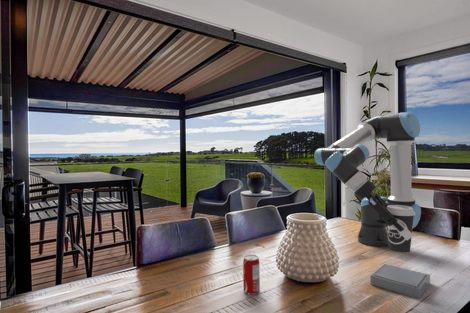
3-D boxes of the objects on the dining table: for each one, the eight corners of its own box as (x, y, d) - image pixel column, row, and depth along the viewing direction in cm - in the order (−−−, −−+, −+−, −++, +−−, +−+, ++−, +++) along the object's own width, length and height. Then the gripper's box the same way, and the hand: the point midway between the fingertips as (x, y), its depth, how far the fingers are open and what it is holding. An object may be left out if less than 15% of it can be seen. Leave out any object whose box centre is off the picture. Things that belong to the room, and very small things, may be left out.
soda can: (243, 287, 103) (243, 253, 103) (259, 287, 103) (258, 253, 102) (243, 295, 97) (243, 259, 97) (260, 295, 97) (259, 259, 97)
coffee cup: (420, 255, 98) (420, 210, 98) (388, 253, 100) (389, 209, 100) (409, 245, 107) (409, 205, 107) (380, 244, 109) (381, 204, 109)
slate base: (384, 271, 115) (384, 263, 115) (430, 283, 104) (430, 274, 104) (370, 284, 104) (370, 275, 104) (419, 298, 94) (419, 288, 93)
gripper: (356, 189, 120) (401, 232, 113) (348, 196, 101) (401, 249, 94) (371, 176, 118) (417, 220, 110) (365, 182, 99) (421, 235, 91)
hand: (410, 234), depth 102 cm, fingers closed on coffee cup, 9 cm apart
